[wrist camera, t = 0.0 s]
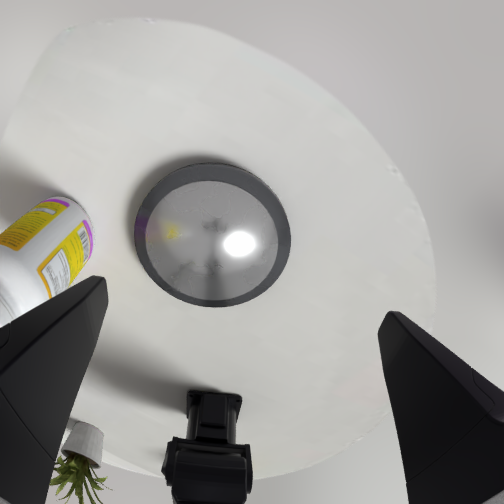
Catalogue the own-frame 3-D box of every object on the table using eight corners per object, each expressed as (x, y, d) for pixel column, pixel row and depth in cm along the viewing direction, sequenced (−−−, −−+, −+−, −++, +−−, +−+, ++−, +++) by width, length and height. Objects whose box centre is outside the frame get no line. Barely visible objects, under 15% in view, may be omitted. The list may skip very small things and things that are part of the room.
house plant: (152, 446, 42) (139, 532, 28) (108, 454, 46) (93, 525, 32) (82, 402, 37) (51, 497, 22) (47, 416, 40) (21, 490, 26)
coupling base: (272, 307, 28) (273, 317, 27) (139, 289, 27) (135, 298, 26) (304, 176, 22) (307, 181, 21) (140, 154, 21) (134, 158, 20)
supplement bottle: (26, 224, 23) (-61, 307, 12) (61, 178, 22) (-46, 257, 10) (72, 275, 26) (5, 376, 15) (112, 237, 24) (36, 347, 13)
